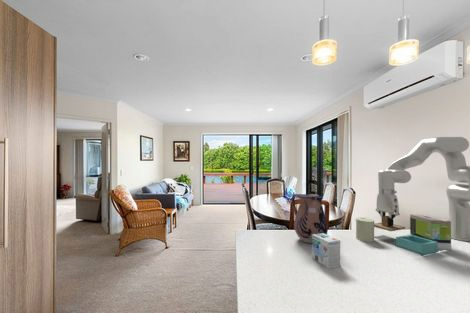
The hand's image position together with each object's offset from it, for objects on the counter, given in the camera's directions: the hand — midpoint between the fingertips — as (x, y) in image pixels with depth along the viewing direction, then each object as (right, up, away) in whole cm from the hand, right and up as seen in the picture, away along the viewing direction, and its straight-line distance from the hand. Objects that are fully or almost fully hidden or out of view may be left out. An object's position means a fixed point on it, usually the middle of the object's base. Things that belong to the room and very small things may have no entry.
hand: (387, 224), depth 127 cm
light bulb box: (-47, -8, -30) cm, 56 cm away
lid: (0, -2, 0) cm, 2 cm away
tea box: (+18, -9, -7) cm, 21 cm away
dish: (+5, -9, -14) cm, 17 cm away
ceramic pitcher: (-46, -8, -2) cm, 47 cm away
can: (-13, -9, -1) cm, 16 cm away
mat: (-1, -9, 0) cm, 9 cm away
